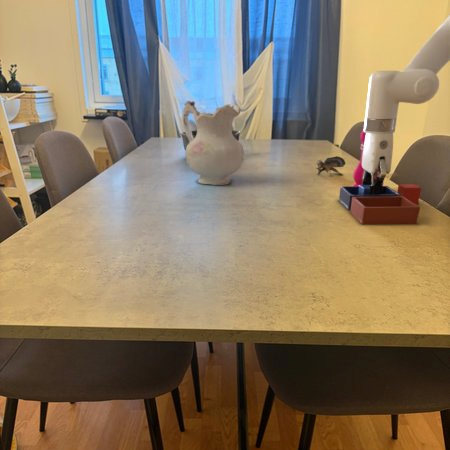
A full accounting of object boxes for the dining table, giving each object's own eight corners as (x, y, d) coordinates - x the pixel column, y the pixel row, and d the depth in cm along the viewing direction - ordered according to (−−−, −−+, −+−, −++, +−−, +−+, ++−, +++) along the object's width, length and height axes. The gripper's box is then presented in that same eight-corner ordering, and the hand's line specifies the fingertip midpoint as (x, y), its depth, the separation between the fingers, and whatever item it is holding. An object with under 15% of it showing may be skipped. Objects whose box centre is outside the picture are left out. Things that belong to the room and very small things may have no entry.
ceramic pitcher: (172, 188, 143) (164, 106, 130) (192, 172, 158) (188, 97, 145) (234, 192, 137) (233, 107, 124) (250, 175, 153) (250, 98, 140)
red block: (411, 199, 123) (414, 184, 121) (417, 204, 119) (421, 187, 117) (395, 200, 123) (398, 184, 121) (401, 204, 119) (404, 187, 117)
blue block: (373, 201, 120) (375, 184, 118) (378, 205, 116) (381, 188, 114) (356, 201, 120) (359, 184, 118) (361, 205, 116) (364, 188, 114)
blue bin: (384, 200, 123) (387, 185, 121) (398, 210, 114) (401, 194, 112) (338, 200, 123) (340, 186, 121) (348, 210, 114) (350, 195, 112)
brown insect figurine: (323, 174, 149) (348, 168, 149) (317, 155, 150) (342, 149, 150) (317, 182, 157) (341, 177, 157) (312, 164, 157) (336, 158, 158)
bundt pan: (178, 152, 202) (177, 129, 198) (233, 150, 207) (233, 128, 202) (184, 162, 179) (183, 136, 175) (246, 159, 184) (246, 134, 179)
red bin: (400, 212, 112) (403, 196, 110) (416, 223, 103) (420, 207, 101) (350, 212, 112) (352, 196, 110) (361, 224, 103) (364, 207, 101)
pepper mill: (351, 192, 131) (360, 121, 122) (351, 187, 137) (359, 119, 128) (376, 193, 129) (387, 122, 120) (374, 188, 136) (385, 119, 126)
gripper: (407, 129, 101) (395, 205, 109) (382, 122, 116) (374, 189, 125) (375, 130, 101) (366, 206, 109) (355, 123, 116) (348, 190, 125)
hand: (370, 196), depth 117 cm, fingers open, 5 cm apart
